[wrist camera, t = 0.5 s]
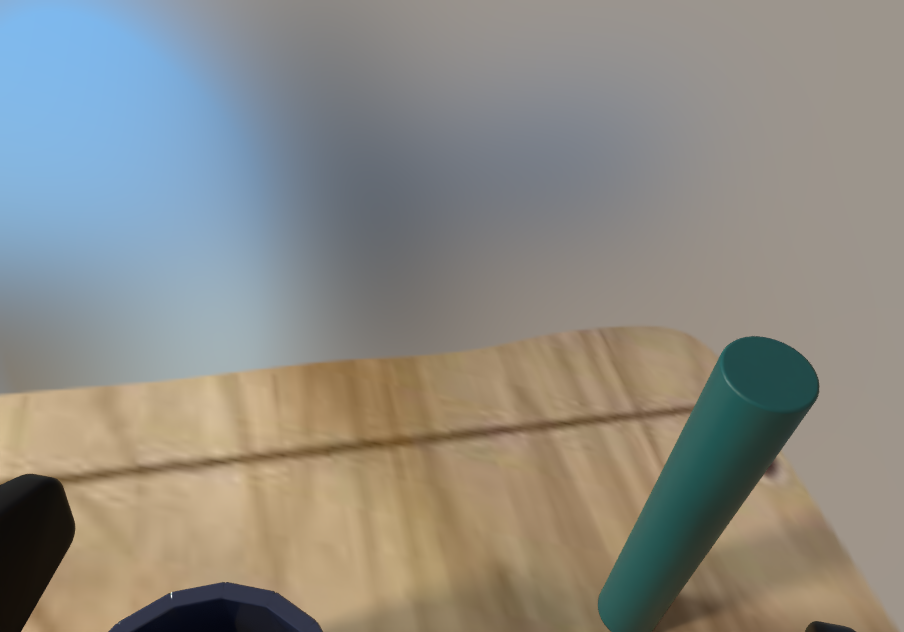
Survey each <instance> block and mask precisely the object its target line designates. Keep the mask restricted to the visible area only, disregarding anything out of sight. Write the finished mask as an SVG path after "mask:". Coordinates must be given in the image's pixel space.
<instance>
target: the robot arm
mask: <svg viewBox="0 0 904 632" xmlns="http://www.w3.org/2000/svg"><path fill="white" fill-rule="evenodd" d="M74 534H75V521H74V518H73V515H72V512H71V509H70V506H69V503H68V500H67V497H66V494H65V491H64V488H63V485H62V484H61V482H60V481H59V480H58V479H56V478H52V477H47V476H42V475H36V474H25V475H22V476H19V477H17V478H15V479H12V480H10V481H8V482H6V483H4V484H2V485H0V632H21V631H22V629H23V627H24V625H25V624H26V622H27V620H28V618H29V617H30V615H31V613H32V611H33V610H34V608H35V606H36V605H37V603H38V601H39V599H40V598H41V596H42V594H43V592H44V591H45V589H46V587H47V585H48V584H49V582H50V580H51V578H52V577H53V575H54V573H55V571H56V570H57V568H58V566H59V564H60V563H61V561H62V559H63V557H64V556H65V554H66V552H67V550H68V549H69V547H70V545H71V543H72V541H73V538H74ZM805 632H856V631H854V630H853V629H851V628H849V627H846V626H841V625H835V624H830V623H825V622H819V621H814V622H812V623H810V624H809V625H808V627H807V628H806V630H805Z"/></svg>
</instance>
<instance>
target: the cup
mask: <svg viewBox="0 0 904 632" xmlns="http://www.w3.org/2000/svg"><path fill="white" fill-rule="evenodd" d="M109 632H323V631H322V629H321V627H320V625H319V624H318V622H316V620H315V619H313V618H312V617H311V616H309V615H308V614H306V613H305V612H304V611H302V610H301V609H299V608H298V607H297V606H295V605H294V604H293V603H291V602H290V601H288V600H287V599H286V598H284V597H283V596H281V595H280V594H279V593H275V592H274V591H270V590H265V589H260V588H255V587H250V586H244V585H239V584H234V583H229V582H226V583H225V582H222V583H216V584H211V585H206V586H201V587H196V588H190V589H185V590H180V591H175V592H172V593H169V594H167V595H165V596H163V597H162V598H160V599H158V600H156V601H154V602H153V603H151V604H149V605H147V606H146V607H144V608H142V609H140V610H139V611H137V612H135V613H133V614H132V615H130V616H128V617H126V618H125V619H123V620H121V621H119V622H118V624H115V625H114V626H113V628H112V629H111V630H110V631H109Z"/></svg>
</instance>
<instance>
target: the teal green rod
mask: <svg viewBox="0 0 904 632" xmlns="http://www.w3.org/2000/svg"><path fill="white" fill-rule="evenodd" d="M818 394H819V380H818V377H817V374H816V372H815V370H814V368H813V367H812V365H811V364H810V363H809V362H808V360H807V359H806V358H805V357H804V356H803V355H802V354H800V353H799V352H798V351H796V350H795V349H794V348H792V347H790V346H788V345H786V344H784V343H782V342H779V341H777V340H774V339H770V338H766V337H758V336H756V337H755V336H751V337H744V338H740V339H738V340H735V341H733V342H732V343H730V344H729V345H727V346H726V347H725V349H724V350H723V352H722V353H721V355H720V357H719V359H718V361H717V363H716V365H715V367H714V369H713V371H712V373H711V375H710V377H709V379H708V381H707V383H706V385H705V387H704V389H703V391H702V393H701V395H700V397H699V399H698V401H697V403H696V405H695V407H694V409H693V411H692V413H691V415H690V417H689V419H688V421H687V422H686V424H685V426H684V428H683V430H682V432H681V434H680V436H679V438H678V440H677V442H676V444H675V446H674V448H673V450H672V452H671V454H670V456H669V458H668V460H667V462H666V464H665V466H664V468H663V470H662V472H661V474H660V476H659V478H658V480H657V482H656V484H655V486H654V488H653V490H652V492H651V494H650V496H649V498H648V500H647V502H646V504H645V506H644V508H643V510H642V512H641V514H640V516H639V518H638V520H637V522H636V524H635V526H634V528H633V530H632V531H631V533H630V535H629V537H628V539H627V541H626V543H625V545H624V547H623V549H622V551H621V553H620V555H619V557H618V559H617V561H616V563H615V565H614V567H613V569H612V571H611V573H610V575H609V577H608V579H607V581H606V583H605V585H604V587H603V589H602V591H601V593H600V595H599V599H598V610H599V614H600V617H601V619H602V621H603V623H604V624H605V625H606V627H607V628H608V629H609V630H610V631H611V632H652V631H653V629H654V628H655V627H656V625H657V624H658V622H659V621H660V620H661V618H662V617H663V615H664V614H665V613H666V611H667V610H668V608H669V607H670V606H671V604H672V603H673V601H674V600H675V598H676V597H677V596H678V594H679V593H680V591H681V590H682V589H683V587H684V586H685V584H686V583H687V582H688V580H689V579H690V577H691V576H692V575H693V573H694V572H695V570H696V569H697V567H698V566H699V565H700V563H701V562H702V560H703V559H704V558H705V556H706V555H707V553H708V552H709V551H710V549H711V548H712V546H713V545H714V544H715V542H716V541H717V539H718V538H719V536H720V535H721V534H722V532H723V531H724V529H725V528H726V527H727V525H728V524H729V522H730V521H731V520H732V518H733V517H734V515H735V514H736V513H737V511H738V510H739V508H740V507H741V505H742V504H743V503H744V501H745V500H746V498H747V497H748V496H749V494H750V493H751V491H752V490H753V489H754V487H755V486H756V484H757V483H758V482H759V480H760V479H761V477H762V476H763V474H764V473H765V472H766V470H767V469H768V467H769V466H770V465H771V463H772V462H773V460H774V459H775V458H776V456H777V455H778V453H779V452H780V451H781V449H782V448H783V446H784V445H785V443H786V442H787V441H788V439H789V438H790V436H791V435H792V434H793V432H794V431H795V429H796V428H797V427H798V425H799V424H800V422H801V421H802V419H803V418H804V416H805V415H806V414H807V412H808V411H809V409H810V408H811V407H812V405H813V404H814V403H815V401H816V399H817V397H818Z"/></svg>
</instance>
